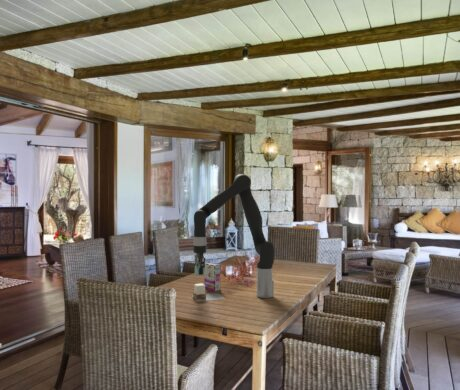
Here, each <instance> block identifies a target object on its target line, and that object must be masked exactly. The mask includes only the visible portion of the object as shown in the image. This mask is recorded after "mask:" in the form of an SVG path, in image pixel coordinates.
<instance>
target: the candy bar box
mask: <svg viewBox="0 0 460 390" xmlns="http://www.w3.org/2000/svg"><path fill="white" fill-rule="evenodd" d="M221 268H222V267H221V264H218V263H213V262H205V268H204V282H203V284H204V285H205V290H209V291H213V292H217V291H221Z"/></svg>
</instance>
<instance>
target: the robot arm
mask: <svg viewBox="0 0 460 390" xmlns="http://www.w3.org/2000/svg"><path fill="white" fill-rule="evenodd" d="M251 184H252V181H251V178H250V177H249V176H248V175H246V174H244V173H238V174H237V175H236V176H235V177H234V180H233V182H232V183H231V185H230V186H228V187H227V188H226V189H224V190H223V191H221V192H220V193H218V194H217V195H215V196H214V197H212V198H211V199H210V200H209V201H207V203H205V204H204V205H203V206H202V207H200V208H199V209H197V210H196V211H195V212H194V213H193V227H194V228H193V229H194V230H193V241H192V243H193V244H192V245H193V251H192V252H193V253H194V264H195V266H199V275H198V276H204V275H203V268H204V267H205V263H206V258H205V256H204V254H206V253H207V228H206V224H207V219H208V217H210V216H211V215H212V214H213V213H215V212H217V211H218V210H219V209H220V208H222V207H223V206H224V205H225V204H227V203H228V202H229V201H231V200H232V199H233V198H234V197H236V196H238V195H239V198H240V201H241V206H242V210H243V213H244V217H245V220H246V222H247V226H248V228H249V231H250V233H251V234H250V235H251V238H252V240H253V241H252V242H253V247H254V250H255V252H256V253H257V255H259V260H258V262H257V263H256V297H257V298H261V299H271V298H273V297H274V296H275V295H274V291H275V290H274V289H275V287H274V286H275V284H274V280H273V265H274V262H275V246H274V244H273V243H272V242H271V241H268V240H266V237H265V235H264V230H263V217H262V214H261V211H260V207H259V206H258V203H257V201H256V199H255V197H254V196H253V194H252V189H251ZM204 269H205V268H204Z"/></svg>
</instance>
